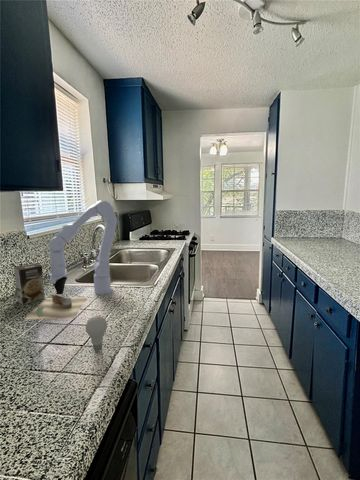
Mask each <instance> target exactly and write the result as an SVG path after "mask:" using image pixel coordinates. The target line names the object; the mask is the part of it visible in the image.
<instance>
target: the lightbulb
mask: <svg viewBox="0 0 360 480" xmlns="http://www.w3.org/2000/svg"><path fill="white" fill-rule="evenodd" d="M107 328H108V322H107V319H106V318H104V317H103V316H101V315H93V316H91V317H90V318H89V319H88V320H87V322H86V324H85V332H86V334H87V335H88V336H89V337H90V340H91V343H92V349H93V351H95V352H99V351H101V350H102V349H103V342H104V336H105V333H106V332H107V330H108V329H107Z"/></svg>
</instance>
